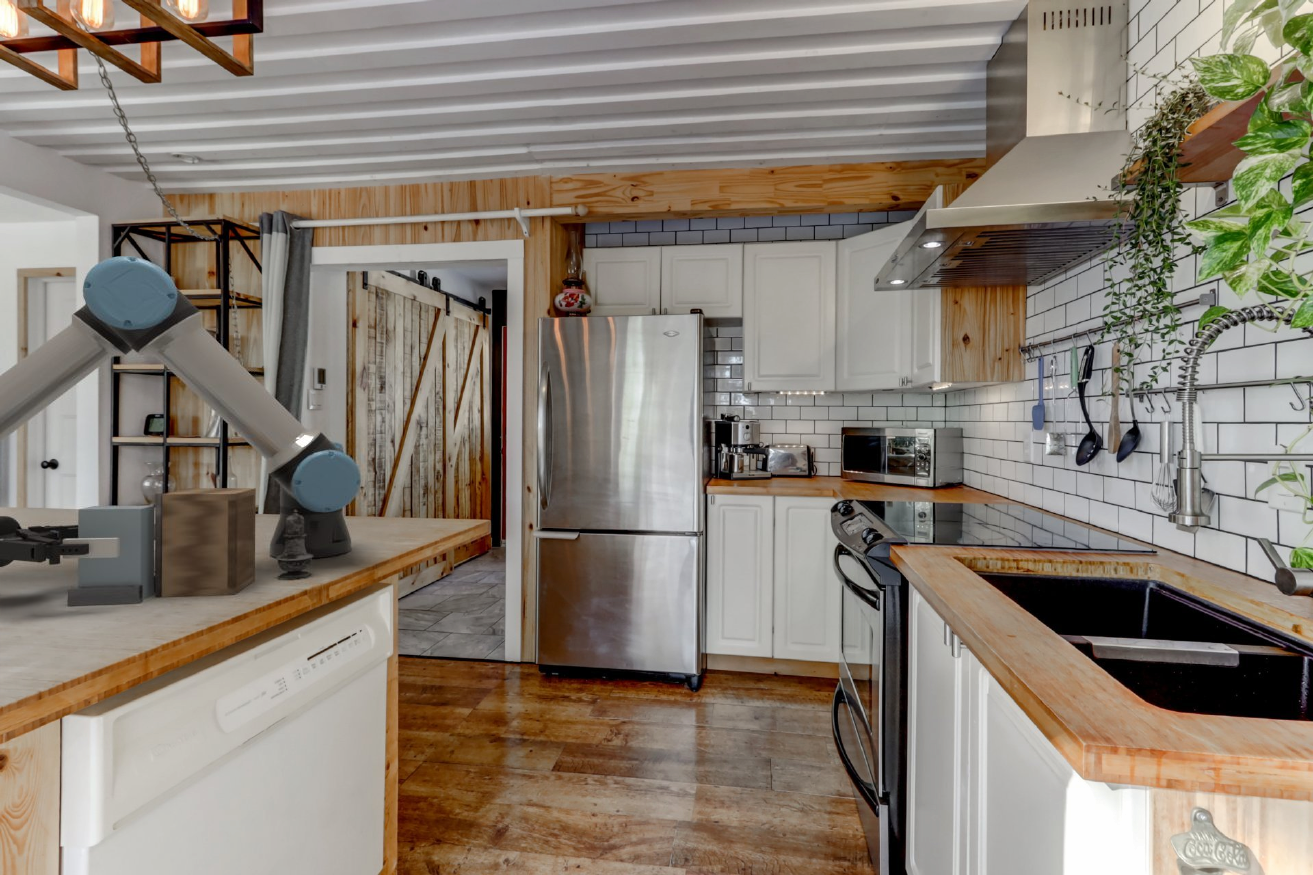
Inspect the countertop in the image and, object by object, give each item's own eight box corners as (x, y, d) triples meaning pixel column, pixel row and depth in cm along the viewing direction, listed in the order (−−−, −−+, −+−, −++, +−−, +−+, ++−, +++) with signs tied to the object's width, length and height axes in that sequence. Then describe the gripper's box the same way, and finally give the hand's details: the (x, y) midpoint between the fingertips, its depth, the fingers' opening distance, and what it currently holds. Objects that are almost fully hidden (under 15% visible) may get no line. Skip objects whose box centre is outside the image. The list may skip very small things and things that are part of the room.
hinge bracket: (67, 605, 95) (67, 588, 95) (97, 592, 102) (98, 576, 102) (138, 603, 97) (139, 586, 97) (163, 590, 104) (163, 574, 104)
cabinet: (153, 597, 100) (154, 494, 100) (180, 583, 109) (181, 488, 109) (234, 594, 103) (235, 494, 102) (254, 580, 112) (255, 488, 111)
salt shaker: (307, 571, 119) (308, 506, 119) (317, 576, 115) (318, 509, 115) (271, 575, 115) (272, 508, 115) (280, 582, 111) (281, 512, 111)
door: (73, 604, 95) (74, 510, 95) (94, 595, 100) (94, 505, 100) (137, 602, 97) (137, 509, 97) (153, 593, 102) (154, 505, 102)
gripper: (33, 550, 107) (180, 547, 112) (-102, 589, 83) (94, 582, 88) (33, 505, 107) (181, 504, 112) (-102, 530, 83) (94, 528, 88)
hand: (143, 539), depth 100 cm, fingers open, 13 cm apart
